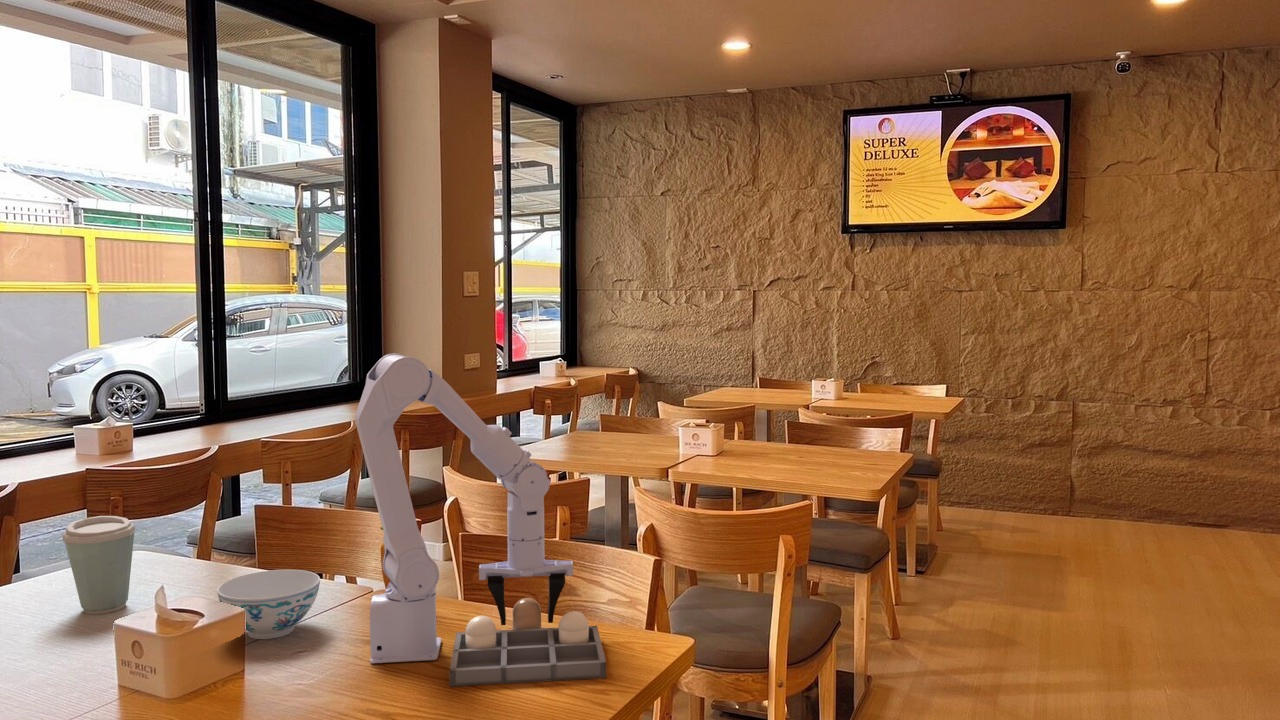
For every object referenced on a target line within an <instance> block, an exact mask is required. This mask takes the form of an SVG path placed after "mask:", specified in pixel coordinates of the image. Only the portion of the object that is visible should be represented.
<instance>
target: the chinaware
mask: <svg viewBox="0 0 1280 720" xmlns="http://www.w3.org/2000/svg"><path fill="white" fill-rule="evenodd" d="M320 583H321V578H320V576H319V575H318V574H317V573H314V572H312V571H309V570H301V569H274V570H263V571H258V572H257V571H256V572H251V573H247V574H242V575H239V576H236V577H233V578H230V579H228V580H227V581H224V582H223V583H221V584H220V585H219V586H217V588H216V594H217V597H218V600H219V603H220V602H223V603H227V604H231V605H234V606H238V607H241V608H244V609H245V610H246V630H245V631H247V636H248V637H250V638H252V639H257V640H269V639H277V638H280V637H283V636H286V635H289V634H290V633H292V632H293V631H294V629H295V628H294V627H295V625H296V624H297V623H298V622H300V621H301V620H302V619H304V618H305V616H306V615H307V614H308V612H309V611H310V610H311V609H312V606H313V604H314V603H315V600H316V598H317V597H318V593H319V589H320V585H321V584H320Z"/></svg>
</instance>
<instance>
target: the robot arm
mask: <svg viewBox="0 0 1280 720" xmlns="http://www.w3.org/2000/svg"><path fill="white" fill-rule="evenodd" d="M416 401H419V402H422V403H424V404H427V405H431V406H434V408H436V409H437V410H438V411H439V412H440V413H441V414H442V415H444V416H445V417H446V418H447V419H448V420H449V421H450V422H451V423H453V424H454V426H455V427H457V428H458V429H459V430H460V431H461V432H462V433H463V434H464V435H465V436H467V438H468V439H469V440H470V452H471V454H473V455H474V456H475V458H477V460H479V461H480V463H482V465H484V466H485V467H486V468H487V469H488V470H489V471H490V472H491V473H492V474H493V475H494V476H495V477H496V478H497V479H498V480H500V482H501V485H502V487H503V489H506V490H507V498H506V499H507V506H506V511H507V515H506V516H507V517H506V518H507V520H506V523H507V525H506V526H507V527H506V528H507V561H499V562H492V563H482V564H481V563H480V564H479V565H478V579H479V581H486V580H487V587H488V590H489V592H490V593H491V596H492V598H493V600H494V603H495V604H496V608H497V611H498V614H499V618H500V625H501V626H506V625H507V624H506V623H507V621H506V620H507V614H506V603H505V579H507V578H508V579H509V578H527V577H528V578H529V577H531V578H532V577H547V576H548V605H547V623H548V624H553V622H554V616H555V610H556V607H557V603H558V601H559V597H560V595H561V593H562V592H563V588H564V587H565V584H566V577H573V576H574V563H573V562H574V561H573V560H555V559H554V560H553V559H545V557H546V555H545V553H546V552H545V502H544V501H545V500H544V499H545V495H546V494H547V492H548V491H549V489H550V486H551V480H550V479H549V477H548V472H547V471H546V469H545V468H544V467H543V466H542V465H540V464H538V463H537V462H535V461H532V460H531V457H532V453H531V451H529V450H528V449H523V448H522V447H521V446H520V445H518V444H517V442H516V441H515V440H514V439H513V438H512V437H511V435H512V434H513V433H512V432H511V431H510V429H509V428H508V427H505V426H503V427H501V426H500V425H498V424H486V423H485V422H484V421H483V419H481V418H480V417H479V416H478V415H477V413H476V412H474V410H473V409H472V408H471V407H470V406H469V405H468V404H467V403H466V402H465V400H464V399H463V398H462V397H461V396H460V395H459V394H458V392H456V391H455V390H454V389H453V387H452V386H451V385H450V384H449V383H448V382H447V381H446V380H445V379H444V378H442V377H441V375H439V374H438V373H436V372H435V370H434V371H433V370H432V369H430V368H428V367H427V365H426V364H425V363H424V362H423V361H422V360H420V359H419V358H417V357H413V356H406V355H403V354H401V353H388V354H386V355H384V356H382V357H381V358H379V360H378V361H376V363H375V364H374V365H373V366H372V368H371V369H370V370H369V371H368V373H367V374H366V378H365V385H364V388H363V390H362V394H361V397H360V400H359V403H358V406H357V409H356V412H355V415H354V419H355V426H356V430H357V433H358V437H359V441H360V442H359V443H360V445H361V449H362V452H363V456H364V461H365V464H366V469H367V473H368V477H369V481H370V484H371V487H372V493H373V495H374V499H375V503H376V507H377V511H378V515H379V520H380V522H381V526H382V528H383V530H382V532H383V539H382V543H384V547H385V555H384V559H383V570H384V572H385V574H386V576H387V577H388V578H389V579H390V583H389V584H388V586H387V589H386V588H385V593H379V594H373V595H372V597H371V601H370V608H369V635H370V636H369V637H370V638H369V645H370V658H369V661H370V664H383V663H385V664H386V663H404V662H405V663H406V662H421V661H423V662H424V661H436V660H438V658H439V655H440V650H441V649H440V648H441V643H442V638H441V637H437V634H438V633H437V595H436V594H437V585H438V583H439V579H440V570H439V566H438V564H437V563H436V562H435V560H434V559H432V557H431V556H430V555H429V553H428V550H427V546H426V543H425V541H424V538H423V537H422V536H423V535H422V534H421V531H420V529H419V526H418V523H417V518H416V514H415V510H414V507H413V502H412V498H411V494H410V490H409V485H408V483H407V477H406V475H405V474H406V473H405V470H404V466H403V462H402V458H401V453H400V450H399V447H398V441H397V439H396V438H397V437H396V435H395V430H394V424H395V423H396V422H397V421H398V419H399V418H400V416H401V415H402V413H403V412H404V411H405V409H406V408H407V407H409V406H410V405H412V404H414V403H415V402H416Z"/></svg>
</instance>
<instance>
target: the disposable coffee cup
mask: <svg viewBox="0 0 1280 720" xmlns="http://www.w3.org/2000/svg"><path fill="white" fill-rule="evenodd" d="M136 531H137V530H136V526H135V525H134V524H133V523H132V521H130V520H129V519H128V518H127V517H122V516H117V515H99V516H98V515H97V516H92V517H85V518H81V519H78V520H75V521H71V522H70V523H69V524H68V525H67V526H65V532H63V534H62V539H61V541H62V542H64V544H65V547H66V548H65V549H66V551H67V555H68V559H69V563H70V568H71V572H72V575H73V580H74V583H75V588H76V592H77V595H78V599H79V604H80V607H81V609H82V610H83V612H84V614H86V613H88V614H87V615H92V614H95V615H105V614H108V613H113V612H117V611H120V610H122V609H123V608H125V607H126V605H127V602H128V600H129V593H130V591H129V590H130V581H131V579H130V578H131V570H132V562H133V561H132V559H133V551H134V540H135V532H136Z"/></svg>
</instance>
